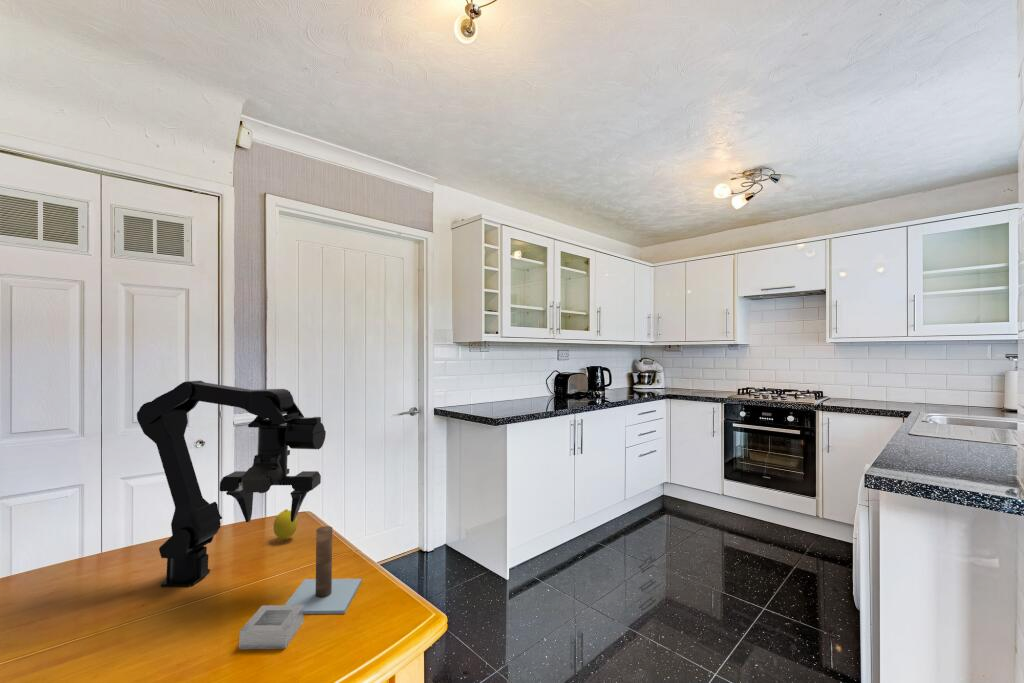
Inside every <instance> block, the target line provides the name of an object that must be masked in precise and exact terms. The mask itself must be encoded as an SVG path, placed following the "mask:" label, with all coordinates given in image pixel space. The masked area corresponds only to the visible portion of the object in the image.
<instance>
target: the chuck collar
mask: <svg viewBox="0 0 1024 683" xmlns="http://www.w3.org/2000/svg"><path fill="white" fill-rule="evenodd" d="M304 616H305V614H304V605H285V604H283V605H280V604H279V605H273V604H272V605H271V604H270V605H261V606H260V607H259V608H258V609H257V611H256V612H255V613H254V614H253V615H252V617H250V619H249V620H248V621H247V622H246V623H245V624H244V626H242V628H240V630H239V637H238V638H239V640H238V650H276V649H277V650H280V649H282V650H283V649H287V647H288V645H289V644H290V643H291V641H292V640H293V638H294V637H295V635H296V634H297V632H298V630H299V629H300V628H301V626H302V625H303V623H304Z"/></svg>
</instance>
